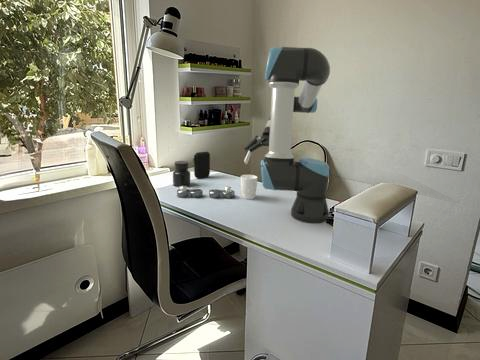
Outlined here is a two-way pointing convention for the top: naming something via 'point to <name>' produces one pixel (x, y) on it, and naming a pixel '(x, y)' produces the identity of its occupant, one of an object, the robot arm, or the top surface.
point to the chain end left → (189, 192)
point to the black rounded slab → (201, 164)
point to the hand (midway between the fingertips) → (257, 164)
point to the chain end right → (222, 193)
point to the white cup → (248, 186)
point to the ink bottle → (181, 174)
